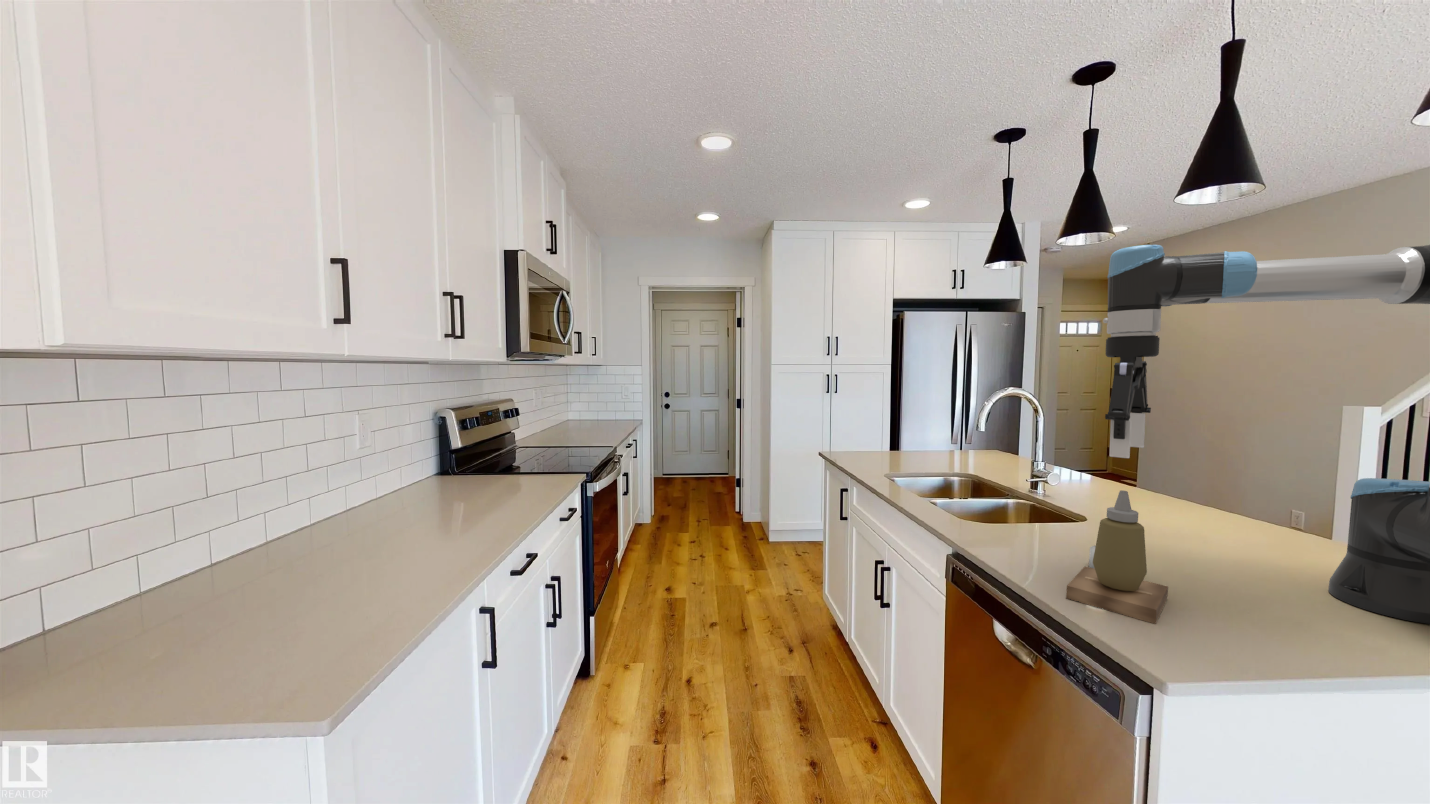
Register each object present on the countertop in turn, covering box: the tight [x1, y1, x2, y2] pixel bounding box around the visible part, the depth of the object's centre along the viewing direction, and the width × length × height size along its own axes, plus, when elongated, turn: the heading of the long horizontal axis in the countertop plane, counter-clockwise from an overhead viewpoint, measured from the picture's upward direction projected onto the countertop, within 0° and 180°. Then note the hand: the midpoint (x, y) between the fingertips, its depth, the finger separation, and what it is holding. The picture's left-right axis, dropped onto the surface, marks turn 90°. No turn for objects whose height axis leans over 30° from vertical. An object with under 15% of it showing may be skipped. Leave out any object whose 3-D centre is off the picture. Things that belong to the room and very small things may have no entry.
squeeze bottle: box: [1093, 490, 1148, 591], centre depth 96 cm, size 8×8×18 cm
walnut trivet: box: [1065, 566, 1169, 625], centre depth 97 cm, size 13×13×3 cm
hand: (1127, 451), depth 95 cm, fingers open, 13 cm apart
